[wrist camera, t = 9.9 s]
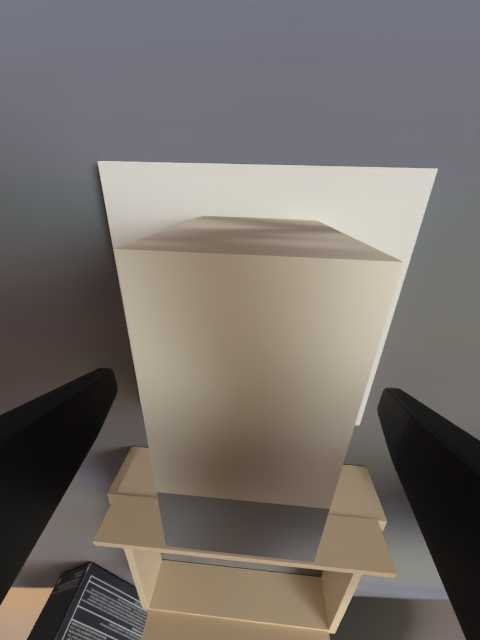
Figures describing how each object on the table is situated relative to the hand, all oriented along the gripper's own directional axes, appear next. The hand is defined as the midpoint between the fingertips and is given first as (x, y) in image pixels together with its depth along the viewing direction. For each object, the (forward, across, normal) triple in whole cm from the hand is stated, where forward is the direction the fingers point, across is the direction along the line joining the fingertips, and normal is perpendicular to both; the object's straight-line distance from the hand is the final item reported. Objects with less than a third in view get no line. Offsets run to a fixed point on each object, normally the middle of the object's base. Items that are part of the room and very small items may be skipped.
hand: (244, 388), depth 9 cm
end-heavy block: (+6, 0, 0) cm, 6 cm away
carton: (+6, 0, +20) cm, 21 cm away
